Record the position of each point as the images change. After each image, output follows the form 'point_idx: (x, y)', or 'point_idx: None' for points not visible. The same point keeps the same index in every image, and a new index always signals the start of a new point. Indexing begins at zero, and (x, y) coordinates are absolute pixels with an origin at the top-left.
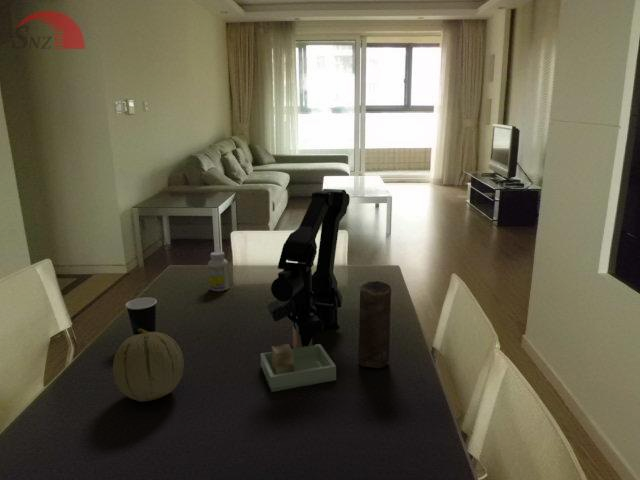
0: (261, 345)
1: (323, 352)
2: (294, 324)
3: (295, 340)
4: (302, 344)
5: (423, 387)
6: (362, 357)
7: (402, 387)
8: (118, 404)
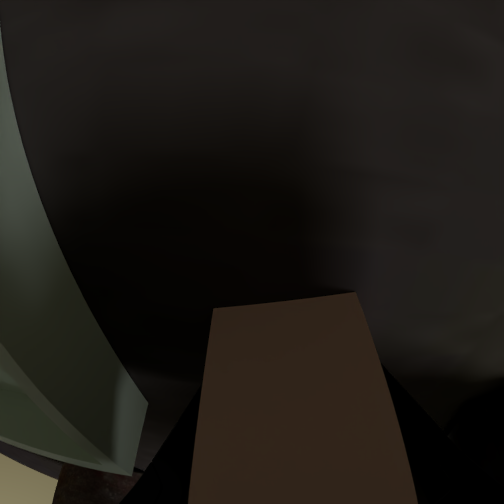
0: (469, 3)
1: (34, 448)
2: (429, 499)
3: (259, 391)
4: (185, 409)
5: (39, 467)
6: (63, 484)
7: (24, 452)
8: None
